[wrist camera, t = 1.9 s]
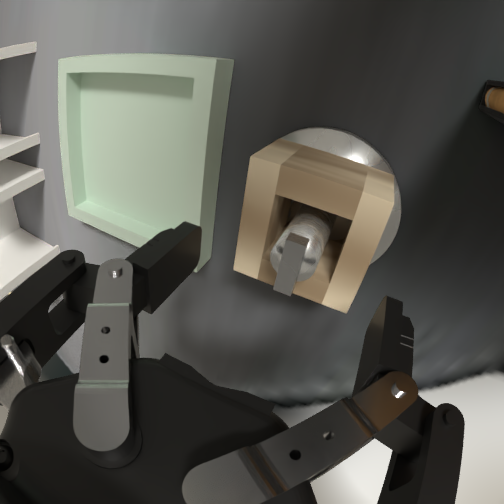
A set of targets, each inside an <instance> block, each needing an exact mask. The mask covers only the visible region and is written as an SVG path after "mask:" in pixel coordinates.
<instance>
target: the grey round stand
mask: <svg viewBox="0 0 504 504" xmlns="http://www.w3.org/2000/svg"><path fill="white" fill-rule="evenodd" d="M280 139H284V140H288V141H291V142H295V143H298V144H302V145H305V146H309V147H312V148H315V149H319V150H322V151H325V152H328V153H331V154H335V155H338V156H341V157H344V158H347V159H350V160H353V161H356V162H359V163H362V164H364V165H367V166H370V167H373V168H376V169H378V170H381V171H384V172H387V173H389V174H392V175H394V206H393V208H392V211H391V214H390V216H389V219H388V221H387V224H386V226H385V229H384V231H383V234H382V236H381V238H380V241H379V243H378V246H377V248H376V250H375V253H374V255H373V257H372V260H371V262H370V264H371V263H373V262H374V261H375V260H377V259H378V258H379V257H380V256H381V255H382V254H383V253H384V252H385V251H386V250H387V249H388V247H389V246H390V245H391V243H392V241H393V239H394V238H395V236H396V233H397V230H398V227H399V223H400V218H401V197H400V189H399V186H398V182H397V179H396V177H395V174H394V172H393V170H392V168H391V166H390V165H389V163H388V162H387V160H386V159H385V158H384V156H383V155H382V154H381V153H380V152H379V151H378V150H377V149H376V148H375V147H374V146H373V145H372V144H370V143H369V142H367V141H366V140H365V139H363V138H361V137H359V136H358V135H356V134H354V133H351V132H349V131H346V130H343V129H339V128H334V127H325V126H317V127H308V128H302V129H299V130H296V131H293V132H291V133H289V134H287V135H285V136H283V137H282V138H280ZM350 223H351V220H350V219H347V218H344V217H341V216H338V215H336V214H333V213H330V212H327V211H324V210H321V209H319V208H316V207H313V206H310V205H307V204H304V203H301V202H298V201H295V200H292V201H291V205H290V209H289V213H288V218H287V222H286V224H288V227H287V228H286V229H285V231H284V232H283V234H282V235H281V237H280V238H279V240H278V241H277V243H276V244H275V245H274V247H273V248H272V250H271V253H270V261H271V264H272V267H273V268H274V270H275V271H276V272H277V276H276V280H275V284H274V288H273V290H275V291H278V292H281V293H283V294H286V295H288V296H291V294H292V292H293V290H294V288H295V285H296V282H297V281H304V280H307V279H308V278H310V277H311V276H312V275H313V274H314V272H315V270H316V267H317V265H318V263H319V260H320V258H321V256H322V253H323V251H324V248H325V246H326V244H327V241H328V239H330V240H332V241H335V242H338V243H341V244H343V242H344V240H345V237H346V234H347V231H348V228H349V225H350ZM370 264H369V265H370Z"/></svg>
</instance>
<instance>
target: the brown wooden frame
mask: <svg viewBox="0 0 504 504" xmlns="http://www.w3.org/2000/svg"><path fill="white" fill-rule="evenodd" d="M292 200H295V201H298V202H301V203H304V204H307V205H310V206H313V207H316V208H319V209H321V210H324V211H327V212H330V213H333V214H336V215H338V216H341V217H344V218H347V219H350V220H351V223H350V225H349V228H348V231H347V234H346V237H345V240H344V242H343V244H341V243H338V242H335V241H332V240H330V239H328V241H327V244H326V246H325V248H324V251H323V253H322V256H321V258H320V260H319V263H318V265H317V267H316V270H315V272H314V274H313V275H312V276H311V277H310V278H308V279H307V280H304V281H297V282H296V285H295V288H294V290H293V292H292V293H294V294H296V295H299V296H302V297H304V298H307V299H309V300H312V301H315V302H317V303H320V304H323V305H325V306H328V307H331V308H333V309H336V310H339V311H341V312H344V313H347V312H348V310H349V307H350V305H351V303H352V301H353V299H354V297H355V295H356V293H357V291H358V289H359V286H360V284H361V282H362V280H363V278H364V275H365V273H366V271H367V269H368V266H369V264H370V262H371V260H372V257H373V255H374V253H375V250H376V248H377V246H378V243H379V241H380V238H381V236H382V234H383V231H384V229H385V226H386V224H387V221H388V219H389V216H390V214H391V211H392V208H393V206H394V175H392V174H389V173H387V172H384V171H381V170H378V169H376V168H373V167H370V166H367V165H364V164H362V163H359V162H356V161H353V160H350V159H347V158H344V157H341V156H338V155H335V154H331V153H328V152H325V151H322V150H319V149H315V148H312V147H309V146H305V145H302V144H298V143H295V142H291V141H288V140H284V139H280V138H279V139H278V140H276V141H274V142H273V143H271V144H269V145H268V146H266V147H264V148H263V149H261V150H259V151H258V152H256V153H255V154H253V155H251V156H250V162H249V169H248V175H247V182H246V188H245V195H244V201H243V208H242V214H241V221H240V228H239V234H238V241H237V248H236V255H235V262H234V269H233V270H235V271H237V272H240V273H243V274H245V275H248V276H250V277H253V278H255V279H258V280H260V281H263V282H265V283H268V284H271V285H273V286H274V284H275V280H276V276H277V272H276V271H275V270H274V268H273V267H272V264H271V261H270V253H271V250H272V248H273V247H274V245H275V244H276V243H277V241H278V240H279V238H280V237H281V235H282V234H283V232H284V231H285V229H286V228H287V227H288V224H286V222H287V218H288V213H289V209H290V205H291V201H292Z"/></svg>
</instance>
